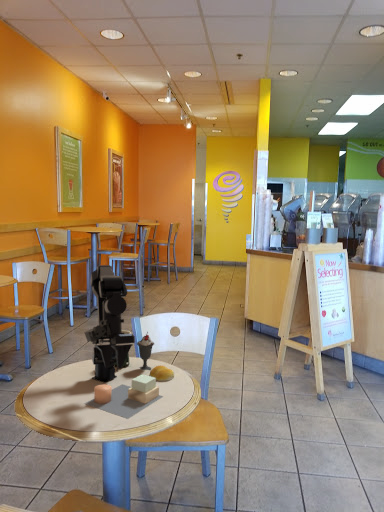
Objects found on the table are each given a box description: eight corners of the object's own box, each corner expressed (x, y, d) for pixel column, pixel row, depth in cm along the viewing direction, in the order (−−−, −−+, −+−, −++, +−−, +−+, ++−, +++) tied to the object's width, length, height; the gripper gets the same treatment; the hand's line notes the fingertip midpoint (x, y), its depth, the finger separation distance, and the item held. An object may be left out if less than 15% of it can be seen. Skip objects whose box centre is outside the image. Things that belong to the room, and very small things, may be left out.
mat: (84, 404, 124) (84, 403, 124) (122, 385, 139) (122, 384, 139) (127, 420, 115) (127, 418, 115) (163, 397, 131) (163, 396, 131)
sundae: (146, 373, 151) (147, 334, 150) (132, 369, 154) (133, 330, 153) (157, 368, 156) (158, 330, 155) (143, 364, 160) (144, 327, 159)
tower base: (127, 398, 128) (128, 389, 128) (141, 390, 134) (141, 381, 134) (145, 403, 125) (146, 394, 125) (158, 395, 131) (159, 386, 131)
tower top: (131, 388, 128) (131, 379, 128) (142, 383, 133) (142, 374, 133) (145, 392, 126) (145, 383, 125) (155, 387, 130) (156, 377, 130)
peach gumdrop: (90, 401, 125) (90, 388, 125) (102, 395, 130) (102, 383, 130) (103, 405, 123) (103, 392, 123) (114, 399, 127) (115, 386, 127)
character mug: (119, 371, 152) (119, 337, 151) (104, 367, 156) (105, 334, 155) (137, 363, 161) (138, 331, 160) (123, 359, 165) (124, 328, 164)
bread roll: (160, 384, 142) (161, 373, 141) (146, 376, 148) (146, 366, 148) (179, 379, 147) (179, 368, 147) (164, 371, 154) (164, 361, 153)
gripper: (76, 318, 130) (76, 369, 127) (99, 315, 115) (100, 372, 113) (108, 317, 137) (109, 365, 134) (134, 314, 122) (136, 368, 119)
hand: (113, 367), depth 125 cm, fingers open, 9 cm apart
